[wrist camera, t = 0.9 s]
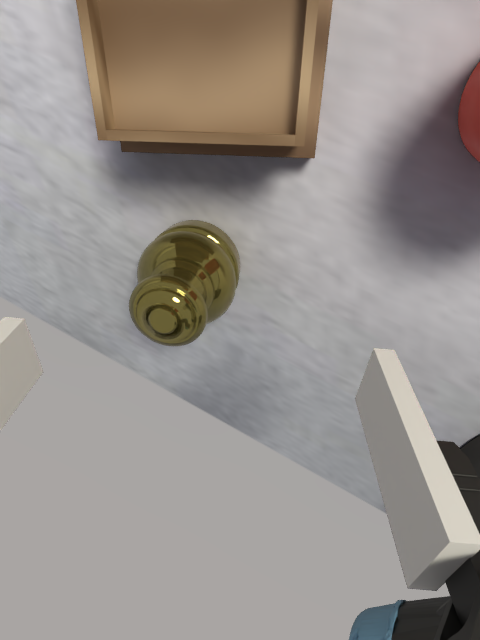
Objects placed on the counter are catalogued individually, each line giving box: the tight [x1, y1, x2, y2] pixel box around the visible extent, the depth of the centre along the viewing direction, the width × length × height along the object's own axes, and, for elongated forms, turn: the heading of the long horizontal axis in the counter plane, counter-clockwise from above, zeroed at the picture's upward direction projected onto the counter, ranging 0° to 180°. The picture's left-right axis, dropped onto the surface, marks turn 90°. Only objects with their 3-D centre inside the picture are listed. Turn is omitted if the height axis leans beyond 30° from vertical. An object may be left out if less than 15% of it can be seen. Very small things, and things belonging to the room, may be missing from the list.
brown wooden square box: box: [76, 0, 333, 158], centre depth 19 cm, size 13×13×7 cm
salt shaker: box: [129, 220, 240, 346], centre depth 26 cm, size 7×7×10 cm
